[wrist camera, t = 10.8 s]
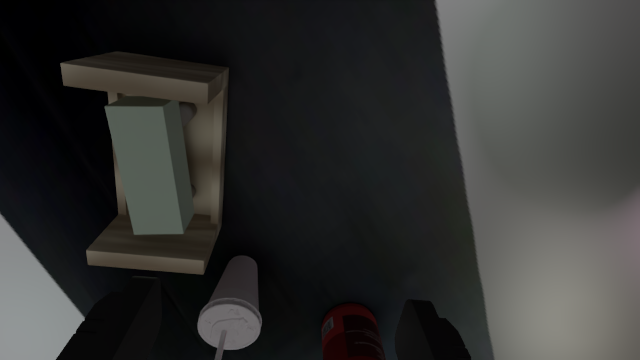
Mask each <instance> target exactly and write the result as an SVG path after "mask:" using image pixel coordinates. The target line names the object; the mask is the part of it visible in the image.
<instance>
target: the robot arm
mask: <svg viewBox="0 0 640 360" xmlns="http://www.w3.org/2000/svg"><path fill="white" fill-rule="evenodd" d="M161 318H162V309H161V283H160V279H159V278H153V277H141V276H133V277H132V278H131V279H130V280H129V282H128V284H127V285H126V287H125V288H124V290H123V291H122V293H121V292H110V293H109V294H108V295H106V296H105V297H103V298H102V299H101V300H99V301H98V302H97V303H95V305H94V306H93V307H92V309H91V310H90V312H89V313H88V315H87V316H86V317H85V320H84V321H83V322H82V323H81V325H80V326H79V327H78V329H77V330H76V333H75V334H73V336H72V337H71V339H70V340H69V342H68V343H67V345H66V346H65V347H64V349H63V350H62V352H61V353H60V355H59V356H58V357H57V359H56V360H147V358H148V355H149V353H150V351H151V348H152V346H153V344H154V342H155V339H156V337H157V335H158V332H159V328H160V324H161ZM395 349H396V354H397V357H398V360H471V356H470V354H469V352H468V350H467V348H465V344H464V342H463V340H462V338H461V336H460V334H459V332H458V331H457V330H456V329H455V328H454V326H453V325H452V324H451V323H450V322H449V321H448V320H447V319H446V318H439V317H438V314H437V312H436V310H435V308H434V306H433V304H432V302H430V301H424V300H412V299H408V300H407V301H406V302H405V305H404V308H403V311H402V314H401V317H400V320H399V324H398V327H397V330H396V334H395Z"/></svg>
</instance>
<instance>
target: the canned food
mask: <svg viewBox="0 0 640 360" xmlns="http://www.w3.org/2000/svg"><path fill="white" fill-rule="evenodd" d="M321 332H322V348H323V360H386V358H385V354H384V350H383V347H382V343H381V339H380V335H379V331H378V327H377V323H376V320H375V318H374V316H373V314H372V313H371V312H370V311H369V310H368V309H367V308H366V307H364V306H362V305H359V304H354V303H347V304H342V305H339V306H336V307H335V308H333V309H331V310H330V311H329V312H328V313H327V315H326V316H325V318H324V320H323V323H322V328H321Z"/></svg>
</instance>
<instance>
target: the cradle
mask: <svg viewBox="0 0 640 360" xmlns="http://www.w3.org/2000/svg"><path fill="white" fill-rule="evenodd" d="M61 70H62V78H63V85H64V86H71V87H79V88H86V89H94V90H101V91H108V99H109V104H111V103H113V102H115V101H117V100H119V99H121V98H123V97H125V96H146V97H153V98H161V99H168V100H176V101H179V108H180V115H181V122H182V129H183V136H184V142H185V149H186V156H187V163H188V170H189V177H190V184H191V191H192V198H193V205H194V212H195V213H194V215H193V217H192V219H191V221H190V222H189V224H188V226H187V228H186V230H185V232H184V234H143V235H134V232H133V228H132V223H131V219H130V215H129V210H128V206H127V202H126V197H125V193H124V189H123V184H122V180H121V176H120V171H119V167H118V163H117V158H116V154H115V150H114V145H113V141H112V145H113V156H114V167H115V179H116V190H117V201H118V213H119V214H118V216H117V217H116V218H115V219H114V220H113V221H112V222H111V223H110V224H109V226H108V227H107V228H106V229H105V230H104V231H103V232H102V233H101V234H100V236H99V237H98V238H97V239H96V240H95V241H94V242H93V243H92V244H91V246H90V247H89V248H88V249H87V250H86V253H87V260H88V265H97V266H109V267H121V268H133V269H145V270H157V271H168V272H180V273H192V274H204V272H205V269H206V266H207V263H208V261H209V258H210V255H211V253H212V250H213V247H214V244H215V242H216V239H217V236H218V234H219V231H220V228H221V225H222V209H223V187H224V166H225V144H226V122H227V100H228V79H229V67H222V66H215V65H208V64H202V63H195V62H188V61H181V60H174V59H167V58H160V57H154V56H147V55H140V54H133V53H126V52H119V51H116V52H111V53H106V54H102V55H97V56H92V57H87V58H83V59H78V60H73V61H68V62H63V63H61Z"/></svg>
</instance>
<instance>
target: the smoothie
mask: <svg viewBox="0 0 640 360" xmlns="http://www.w3.org/2000/svg"><path fill="white" fill-rule="evenodd" d="M261 325H262V319H261V315H260V313H259V307H258V271H257V264H256V262H255V261H254V260H253V259H252V258H250V257H248V256H242V255H241V256H236V257H234V258H232V259H231V260H230V261H229V263H228V265H227V267H226V269H225V271H224V273H223V275H222V277H221V279H220V281H219V283H218V285H217V287H216V289H215V291H214V293H213V295H212V297H211V299H210V301H209V303H208V304H207V305H206V306H205V307H204V308H203V309H202V311H201V313H200V316H199V320H198V331H199V334H200V335H201V337H202V338H203V339H204V340H205V341H206V342H207V343H209V344H210V345H212V346H214V347H217V352H216V357H215V360H221V357H222V353H223V349H225V350H235V349H240V348H244V347H246V346H248V345H250V344H251V343H253V342H254V341H255V340H256V339H257V337H258V336H259V333H260V328H261Z"/></svg>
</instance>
